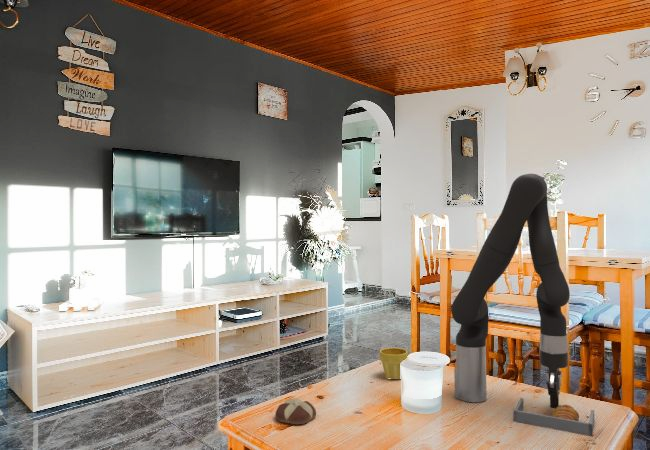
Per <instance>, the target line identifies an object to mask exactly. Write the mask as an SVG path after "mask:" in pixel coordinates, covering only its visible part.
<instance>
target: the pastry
mask: <svg viewBox="0 0 650 450" xmlns="http://www.w3.org/2000/svg"><path fill="white" fill-rule="evenodd" d="M551 416H552V417H558V418H563V419H569V420H575V421H579V418H580V415H579V412H578V411H577V410H576V409H575V408H574V407H573V406H571V405H570V404H569V405H568V404H563V405H562V404H559V406H558V407H556V409H553V411H552V413H551Z"/></svg>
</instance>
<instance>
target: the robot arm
mask: <svg viewBox="0 0 650 450" xmlns="http://www.w3.org/2000/svg"><path fill="white" fill-rule="evenodd" d="M503 205H504V206H503V209H502V211H501V213H500V214H499V217H498V218H497V220H496V221H495V223H494V225H493V227H492V228H491V230H490V231H489V234H488V235H487V238H486V239H485V241H484V243H483V245H482V246H481V248H480V251H479V253H478V256H477V257H476V260H475V262H474V264H473V266H472V267H471V270H470V272H469V275H468V276H467V278H466V280H465V283H464V284H463V286H462V287H461V289H460V290H459V292H458V294H456V297H455V298H454V300H453V302H452V304H451V309H450V310H451V311H450V314H451V317H452V319H453V320H454V322H456V324H459V325H460V328H459V331H458V332H457V334H456V335H455V357H456V358H455V362H456V363H455V367H454V371H453V372H454V373H453V375H454V398H455V399H458V400H460V401H463V402H468V403H483V402H485V401H486V400H487V392H488V391H487V359H486V358H487V355H486V354H487V351H486V350H487V345H486V343H487V338H488V334H489V307H488V303H487V301H486V299H485V297H486V295H487V293H488V292H489V290H490V289H491V287H492V286H493V285H494V284H495V283H496V282H497V281H498V280H499V278H500V277H501V276H502V275H503V274H504V273H505V272H506V270H507V268H508V267H509V265H510V264H511V262H512V259H513V258H514V255H515V253H516V251H517V248H518V246H519V243H520V241H521V236H522V233H523V230H524V227H525V224H526V223H527V229H528V231H527V233H528V246H529V251H530V255H531V260H532V261H531V262H532V266H533V269H534V272H535V274H537V275H538V276H539V278H540V281H541V282H540V284H539V285H538V286H537V288H536V294H535V295H536V303H537V304H536V305H537V309H538V314H539V318H540V322H539V324H540V327H539V329H540V330H539V331H540V334H539V335H540V336H539V363H540V365H541V366H543V367H547V368H548V369H546V371H545V378H546V387H547V394H548V396H549V407H550V409H553V410H555V409H556V407H558V406H559V405H560V402H559V399H560V397H559V396H560V393H561V392H560V391H561V386H562V376H563V372H562V370H561V371H560V369H564V368H567V367H568V366H569V350H568V347H569V346H568V345H569V343H568V336H567V332H568V331H567V318H566V316H565V315H564V314H563V312H562V307H564V306H566V305H567V304H568V303H569V300H570V287H569V285H568V282H567V279H566V278H565V275H564V272H563V271H562V269H561V265H560V261H559V257H558V255H559V254H558V251H557V246H556V244H555V243H556V242H555V239H554V235H553V231H552V228H551V227H552V226H551V221H550V215H549V207H548V206H549V205H548V184H547V182H546V180H545V178H544V177H542V176H540V175H539V174H537V173H525V174H521V175H520V176H518V177H516V178H515V179H514V181H513V182H512V183H511V187H510V189H509V192H508V195H507V197H506V200H505V203H504V204H503Z"/></svg>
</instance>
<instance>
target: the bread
mask: <svg viewBox="0 0 650 450" xmlns="http://www.w3.org/2000/svg"><path fill="white" fill-rule="evenodd" d="M274 414H275V418H276V420H277V419H278V420H277V421H279V422H280V423H283V422H285V423H284V424H289V423H290V424H289V425H294V424H303V425H306V424H307V423H309V421H312V420H313V419H315V418H316V417H317V411H316V408H315V407H314V406H313V404H312V403H311V402H309V401H308V400H304V401H303V400H301V399H300V398H289V399H287V400H285V401H284V402H283V403H280V404H279V406H278V407H277V408H276V411H275V413H274ZM305 423H306V424H305Z"/></svg>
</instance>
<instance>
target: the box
mask: <svg viewBox="0 0 650 450" xmlns="http://www.w3.org/2000/svg"><path fill="white" fill-rule="evenodd" d="M523 410H524V398H519V400H518V401H517V403H516V405H515V407H514V409H513V412H512V413H513V422H516V423H523V424H527V425H533V426H537V427H544V428H548V429H552V430H556V431H557V430H558V431H563V432H568V433H574V434H579V435H583V436H584V435H585V436H589V437H592V436H593V433H594V427H595V409H590V413H589V418H588V419H589V420H588V422H585V421H579V420H578V421H575V420H569V419H563V418H558V417H552V415H545V414H540V413H535V412H529V411H523Z"/></svg>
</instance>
